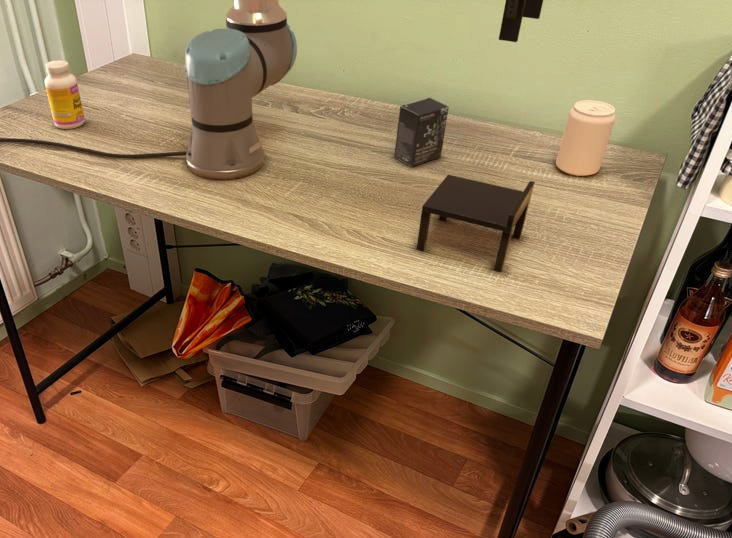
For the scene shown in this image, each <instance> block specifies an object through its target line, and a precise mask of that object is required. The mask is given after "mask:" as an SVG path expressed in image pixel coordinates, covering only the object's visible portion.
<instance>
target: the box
mask: <svg viewBox="0 0 732 538" xmlns="http://www.w3.org/2000/svg"><path fill="white" fill-rule="evenodd" d="M449 108H450V106H448V105H446V104H444V103H442V102H440V101H438V100H436V99H433V98H432V97H427V98H424V99H421V100H418V101H414V102H411V103H408V104H407V103H406V104H402V105H400V106H399V114H398V120H397V121H398V123H397V129H396V138H395V148H394V158H395V159H397V160H398V161H400V162H402V163H403V164H405V165H407V166H409V167H410V168H413V167H416V166H418V165H421V164H424V163H428V162H430V161H434V160H438V159H440V158H441V157H442V152H443V145H444V140H445V133H446V128H447V127H446V126H447V121H448V114H449Z"/></svg>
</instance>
